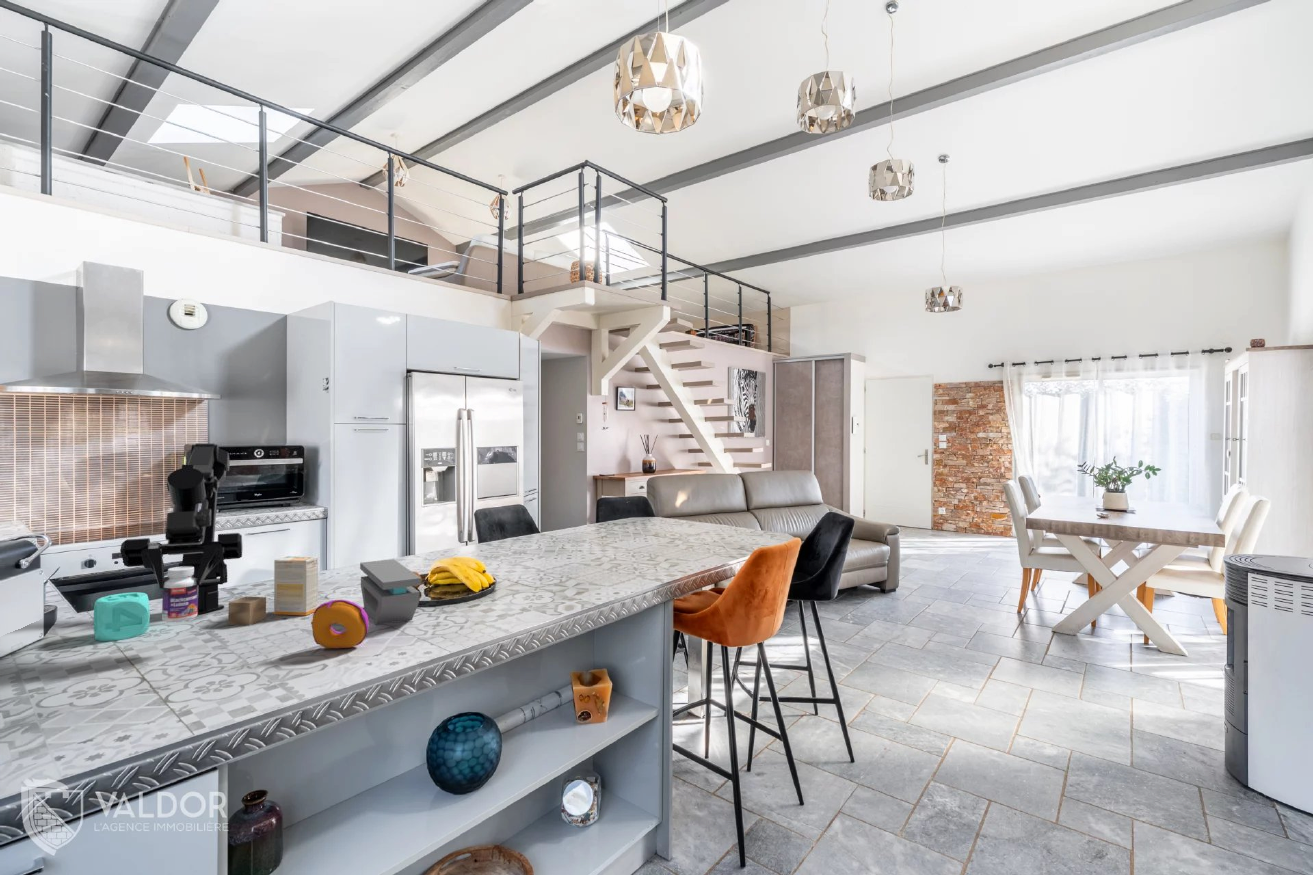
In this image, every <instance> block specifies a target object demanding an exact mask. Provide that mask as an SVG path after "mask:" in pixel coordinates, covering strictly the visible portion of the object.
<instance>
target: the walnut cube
mask: <svg viewBox="0 0 1313 875" xmlns="http://www.w3.org/2000/svg"><path fill="white" fill-rule="evenodd" d="M227 616H228V617H227V618H228V619H227V622H228V623H227V624H228V625H231V626H232V625H233V626H251V625H253V624H256V623H258V621H259V622H262V621H264V620H266V619H267V597H266V596H243V597H240V598H238V599H237V598H236V599H235V600H232V601H228V615H227ZM263 619H264V620H263Z"/></svg>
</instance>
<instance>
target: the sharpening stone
mask: <svg viewBox="0 0 1313 875" xmlns="http://www.w3.org/2000/svg"><path fill="white" fill-rule="evenodd" d="M359 565H360V566H359V570H360V571H362V572H363V573H364V574H365V576H360V589H361V596H362V601H363V609H364V611H365V612H366V613H367V615H368V619H370V620H371V621H372V623H373V624H374V625H375V626H379V625H386V624H391V623H398V622H405V621H409V620H413V619H414V615H415V613H416V610H417V609H418V605H419V604H420V603H419V602H420V591H419V590H417V589H416V588H415V587H417V586H422V578H421V577H420V576H419V575H417V574H416V573H415V572H413V571H412V570H410V569H408V568H407V567H406V566H404V565H403V564H401V563H400V562H399V561H397V560H395V558H394V559H393V558H391V559H383V560H382V559H381V560H374V561H364V562H363V561H362V562H360V564H359Z"/></svg>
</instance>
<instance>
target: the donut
mask: <svg viewBox="0 0 1313 875" xmlns="http://www.w3.org/2000/svg"><path fill="white" fill-rule="evenodd" d="M312 614H313V615H312V621H311V622H310V624H311V629H312V636H313V640H314V642H315V643H316V644H317V645H320V646H321V647H323V648H326V649H338V650H340V649H343V648H344V649H349V648H353V647H357V646H358V645H360V644H361V643H363V642H364V640H365V639H366V637H367V635H368V631H369V630H368V629H369V623H370V622H369V617H368V615H367V613H366V612H365V609H364V607H362V606H360V605H359V604H358V603H356V602H354V601H350V600H346V599H333V600H329V601H327V602H324V603H322V604H320V605H318V608H317V609H316V610H315V612H313V613H312ZM332 624H339V625H340V626H343V627H344V628H345V630H344V631H337V630H335V629H334V628H333V626H332Z"/></svg>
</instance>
